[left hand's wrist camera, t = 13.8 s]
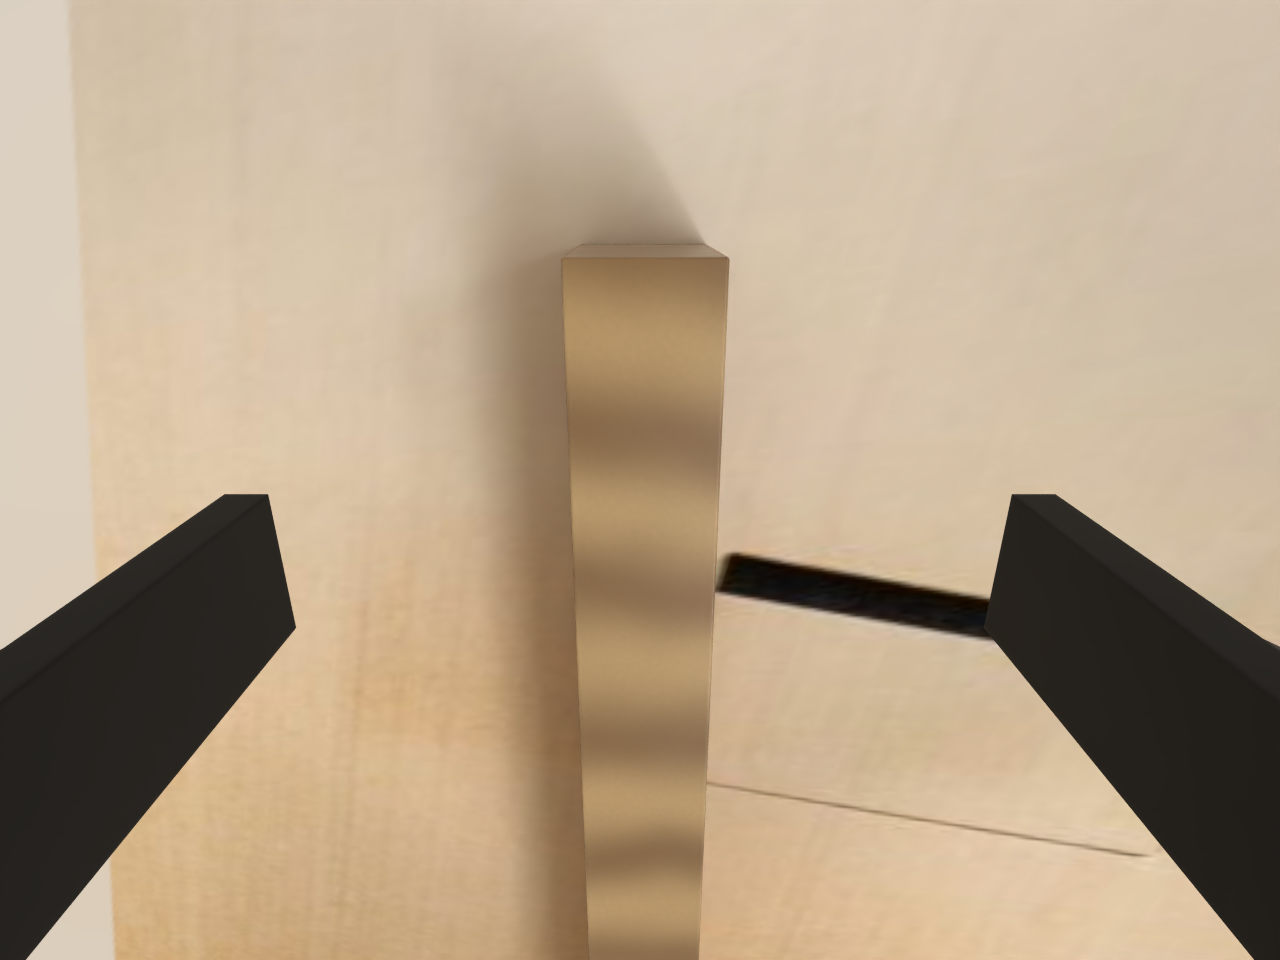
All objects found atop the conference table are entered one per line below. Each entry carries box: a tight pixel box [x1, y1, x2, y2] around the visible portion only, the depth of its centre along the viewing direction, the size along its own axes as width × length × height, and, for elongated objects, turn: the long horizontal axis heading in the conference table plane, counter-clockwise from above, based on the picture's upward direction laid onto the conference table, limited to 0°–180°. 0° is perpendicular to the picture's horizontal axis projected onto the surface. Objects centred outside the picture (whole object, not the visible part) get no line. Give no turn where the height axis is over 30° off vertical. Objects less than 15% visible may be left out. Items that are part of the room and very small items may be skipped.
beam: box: [561, 244, 729, 960], centre depth 39 cm, size 67×6×8 cm, turn 0°
